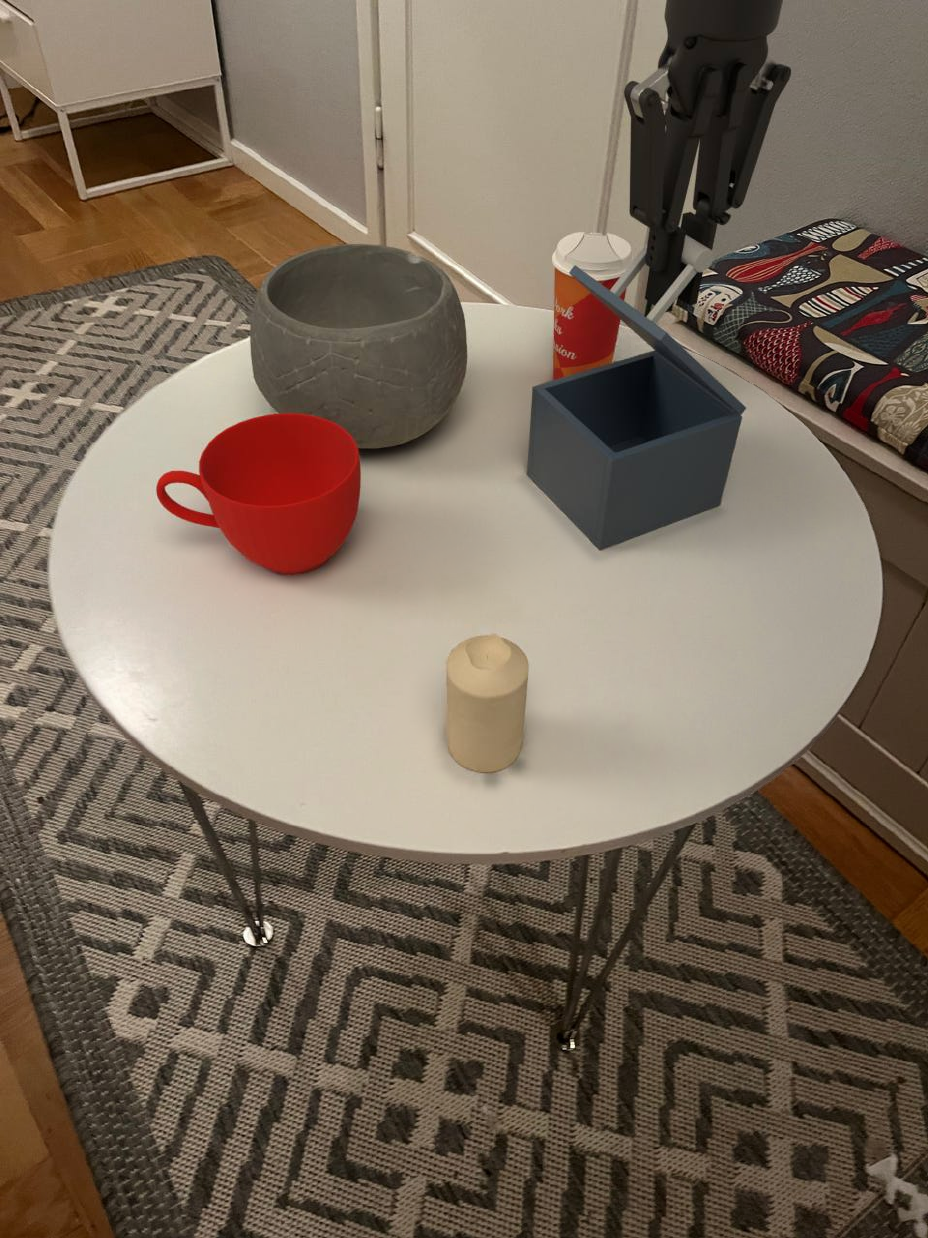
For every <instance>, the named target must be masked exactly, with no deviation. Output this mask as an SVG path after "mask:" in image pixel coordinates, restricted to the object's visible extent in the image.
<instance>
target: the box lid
mask: <svg viewBox="0 0 928 1238" xmlns="http://www.w3.org/2000/svg"><path fill="white" fill-rule="evenodd" d="M647 243H648V241H647V242H646V243H645V244H644V246H643V247H641V250H640V251H639V252H638V254H637V255H636V256H635V257H634V260H633V261H632V263H631V264H630V265H629V267H628V268H627V269H626V270H625V272H624V273H623V274H622V276H621V277H620V278H619V279H618V281H617V282H616V283H615V285H614V286H613V287H612V288H611V290H608V289H607V288H606V287H604V286H603V285H602V284H600V283H599V282H598V281H596V280H595V279H594V278H592V277H591V276H589V275H588V274H587V273H585V272H584V271H583V270H581V269H580V268H579V267H577V266H576V265H574V267H573V268H572V269H571V271H570V272H569V273H570V274H571V275H572V276H573V277H574V278H575V279H576V280H577V281H578V282H579V283H581V284H582V285H583V286H584V287H585V288H586V289H587V290H588V291H589V292H591V293H592V294H593V295H594V296H595V297H596V298H597V299H598V300H599V301H601V302H602V303H603V304H604V305H605V306H606V307H607V308H608V309H609V310H611V311H612V312H613V313H614V314H615V315H616V316H617V317H618V318H619V319H621V320H620V321H622V322H623V323H624V324H625V325H626V326H627V327H628V328H629V329H630V330H632V331H633V332H634V333H635V334H636V335H637V336H638V337H639V338H640V339H641V340H643V341H644V342H645V343H646V344H647V345H648V346H649V347H650V348H652V350H653V351H654V350H655V351H657V352H658V353H659V354H661V355H662V356H663V357H665V358H666V359H667V360H668V361H670V362H671V363H672V364H674V365H675V366H676V367H678V368H679V369H680V370H682V371H683V372H684V373H686V374H687V375H688V376H689V377H691V378H692V379H693V380H695V381H696V382H697V383H699V384H700V385H701V386H703V387H704V388H705V389H706V390H708V391H709V392H710V393H712V394H713V395H714V396H716V397H717V398H718V399H720V400H721V401H722V402H724V403H725V404H726V405H727V406H729V407H730V408H731V409H733V410H734V411H735V412H737V413H738V414H739V415H741V416H742V414H744V412H745V411H746V410H747V406H745V404H743V403H742V401H740V400H739V399H738V398H737V397H736V396H735V395H734V394H732V392H730V390H728V389H727V388H726V386H724V384H722V383H721V382H720V381H719V380H718V379H717V378H716V377H714V375H713V374H711V373H710V372H709V370H707V369H706V368H705V367H704V366H703V365H702V364H701V363H700V362H699V361H698V360H697V359H696V358H695V357H694V356H692V355H691V354H690V353H689V351H687V350H686V349H685V348H684V347H683V346H682V345H681V344H680V343H679V342H678V341H676V340H675V339H674V338H673V336H671V335H670V334H669V333H668V332H667V331H666V330H664V329H663V328H661V326H659V325H658V324H657V323H658V322H659V321H660V319H661V318H662V317H663V316H664V315H665V314H666V313H667V312H666V311H667V309H668V308H669V307H670V306H671V304H672V303H673V302H675V301H676V300H677V297H678V296H679V294H680V293H681V292H682V291H683V289H684V288H685V287H686V286H687V284H688V283H689V282H690V281H691V279H692V278H693V277H694V276H695V274H696V273H697V272H703V273H704V272H706V271H707V270H708V269H710V267H711V265H712V264H713V261H714V257H715V255H714V252H713V249H712V250H710V249H709V248H707V247H705V246H704V245H702V244H700V243H699V242H697V241H696V240H694V239H692V238H691V237H689V236H688V235H686V236H685V242H684V247H683V252H682V258H681V262H683V263H685V264H686V265H687V266H686V268H685V269H684V270H683V271H682V273H681V274H680V275H679V276H678V278H677V279H676V280H675V281H674V283H673V284H672V285H671V286H670V288H669V289H668V290H667V292H666V293H665V294H664V295H663V297H662V298H661V299H660V300H659V302H658V303H657V304H656V305H655V306H654V307H652V309H651V310H650V311H649V313H648V314H647V315H646V316H645V315H644V314H642V313H641V312H640V311H639V310H637V309H636V308H635V307H633V306H632V305H630V304H629V303H627V302H626V301H625V300H624V301H623V300H622V299H621V298H619V297H620V296H621V294H622V293H623V292H624V290H625V289H626V288H627V289H628V287H629V285H630V284H631V283H632V281H633V280H634V279H635V278H636V276H637V275H638V274H639V273H640V272H641V270H642V269H643V268H644V267H645V266H646V261H645V256H646V250H647ZM627 289H626V290H627ZM673 304H674V303H673ZM665 312H666V313H665Z"/></svg>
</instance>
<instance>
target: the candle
mask: <svg viewBox="0 0 928 1238" xmlns="http://www.w3.org/2000/svg"><path fill="white" fill-rule="evenodd" d="M445 667H446V669H445V671H446V673H445V674H446V675H445V676H446V740H447V746H448V750H449V752H450V754H451V756H452V758H453V759H454V760H455V762H456V763H458V764H459V765H460V766H462V767H464V768H465V769H467V770H470V771H473V772H478V773H494V772H498V771H501V770H503V769H505V768H508V767H510V766H511V765H512V764H513V763H514V762H515V761H516V760H517V758H518V756H519V755H520V752H521V750H522V747H523V739H524V729H525V719H526V718H525V717H526V706H527V693H528V682H529V660H528V657H527V656H526V653H525V652H524V650H523V649H522V648H520V647H519V646H518V645H517V644H516V643H514V642H513V641H511V640H509V639H507V638H505V637H501V636H499V635H498V634H494V633H493V634H485V635H477V636H473V637H470V638H466V639H464V640H463V641H461V642H459V643H458V644H456V645H455V646H454V647H453V648H452V650H451V651H450V652H449V654H448V656H447V659H446V666H445Z"/></svg>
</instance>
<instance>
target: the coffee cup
mask: <svg viewBox="0 0 928 1238" xmlns="http://www.w3.org/2000/svg"><path fill="white" fill-rule="evenodd" d="M634 259H635V257H634V256H633V251H632V247H631V245H630V243H629V242H628V241H627V240H626V239H624V238H622V237H621V236H618V235H615V234H613V233H608V232H607V235H606V234H603V233H602V232H589V233H585V231H578V232H574V233H570V234H567V235H566V236H563V238H561V239H560V240H559V241H558V243H557V246H556V249H555V250H554V252H553V254H552V255H551V263H552V265H553V267H554V279H553V281H554V283H553V286H554V288H553V290H554V291H553V334H552V335H553V337H552V339H553V340H552V345H553V346H552V353H553V354H552V374H553V375H552V380H556V379H560V378H563V377H566V376H570V375H573V374H576V373H580V372H583V371H587V370H590V369H593V368H597V367H600V366H603V365H607V364H610V363H613V362H614V361H613V360H614V356H615V355H614V354H615V350H616V346H617V339H618V335H619V330H620V325H621V321H622V320H621V319H619V318H618V317H617V316H616V315H615V314H614V313H613V312H612V311H611V310H609V309H608V308H607V307H606V306H605V305H604V304H603V303H602V302H601V301H599V300H598V299H597V298H596V297H595V296H594V295H593V294H592V293H591V292H589V291H588V290H587V289H586V288H585V287H584V286H583V285H582V284H581V283H579V282H578V281H577V280H576V279H575V278H574V277H573V276H572V275H571V274H570V273H569V272H570V271H571V269H572V268H573V267H574V265H576V266H577V267H579V268H580V269H581V270H583V271H584V272H585V273H587V274H588V275H589V276H591V277H592V278H594V279H595V280H596V281H598V282H599V283H600V284H602V285H603V286H604V287H606V288H607V289H608V290H611V288H612V287H613V286H614V285H615V283H616V282H617V281H618V279H619V278H620V277H621V276H622V274H623V273H624V272H625V270H626V269H627V268H628V267H629V265H630V264H631V263H632V261H633V260H634ZM627 290H628V287H627V288H626V289H625V290H624V292H623V293H622V294H621V296H620V297H619V298H621V299H622V300H623V301H625V299H626V294H627Z"/></svg>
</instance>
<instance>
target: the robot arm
mask: <svg viewBox="0 0 928 1238" xmlns="http://www.w3.org/2000/svg"><path fill="white" fill-rule="evenodd" d="M783 1H784V0H665V9H664V14H663V15H664V22H665V26H666V32H667V33H666V34H667V39H666V42H665V45H664V48H663V50H662V52H661V54H660V56H659V59H658V61H657V69H656V70H655V71H653V73H651V74H650V75H649V76H648V77H647V78H646V79H645V80H643V81H642V82H638V81H636V80H631V81H629V82H628V83H627V84H626V85H625V87H624V89H623V96H624V100H625V103H626V105H627V109H628V112H629V115H630V144H629V145H630V147H629V149H630V151H629V153H630V154H629V155H630V156H629V210H628V211H629V212H628V213H629V216H630V217H631V218H633V219H634V220H636V221H637V222H639V223H640V224H642V225H644V226H646V227H647V228H648V229H649V231H648V237H647V242H648V243H647V242H646V243H647V250H646V256H645V261H646V263H645V266H647V267H648V275H647V280H646V288H645V294H644V299H645V300H646V301H647V302H649V303H650V304H651V305H653V306H654V307H655V305H656V304H657V303H658V302H659V300H660V299H661V298H662V297H663V295H664V294H665V293H666V292H667V290H668V289H669V288H670V286H671V285H672V284H673V283H674V281H675V280H676V279H677V278H678V276H679V275H680V274H681V273H682V271H683V270H684V269H685V268H686V266H687V265H686V264H685V263H683V262H681V258H682V252H683V247H684V242H685V236H686V235H688V236H689V237H691V238H692V239H694V240H696V241H697V242H699V243H700V244H702V245H704V246H705V247H707V248H709V249H710V250H712V251H713V249H714V243H715V238H716V234H717V228H718V225H720V226H725V225H727V224H728V223H729V221H730V220H731V217H732V214H731V213H728V212H727V211H729V210H730V209H735V210H737V209H740V207H742V206H743V204H744V202H745V199H746V196H747V194H748V190H749V187H750V184H751V181H752V178H753V174H754V171H755V168H756V165H757V162H758V159H759V156H760V153H761V150H762V147H763V144H764V140H765V137H766V136H767V135H766V134H767V132H768V128H769V125H770V123H771V119H772V116H773V113H774V109H775V106H776V105H777V102H778V100H779V98H780V96H781V95H782V93H783V91H784V89H785V88H786V87H787V84H788V82H789V81H790V78H791V76H792V68H791V67H790V66H787V65H785V64H782V63H780V62H778V61H775V60H774V59H772V58H771V57H770V56H769V44H768V36H770V35H771V34H772V33H773V32H774V31H775V30H776V29H777V27H778V25H779V21H780V16H781V11H782V6H783ZM666 96H667V97H666ZM666 98H667V99H666ZM696 157H697V162H696V171H695V180H694V189H693V197H692V198H693V199H692V209H693V210H694V211H695V213H694V212H692V211H688V212H684V213H683V210H684V207H685V203H686V197H687V194H688V190H689V186H690V181H691V177H692V174H693V169H694V165H695V161H696ZM731 184H733V185H732V186H731ZM703 274H704V272H697V273H696V274H695V276H694V277H693V278H692V279H691V281H690V282H689V283H688V284H687V286H686V287H685V288H684V289H683V291H682V292H681V293H680V294H679V296H678V297H677V298H678V299H679V300H680V301H682V302H683V303H685V304H686V305H687V306H689V307H690V306H695V305H697V304H698V300H699V294H700V290H701V284H702V280H703ZM677 298H676V299H677ZM674 302H675V301H674ZM674 302H673V303H672V304H671V306H670V307H669V308H668V309H667V311H666V312H665V313H664V314H666V313H669V312H673V308H674Z"/></svg>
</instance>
